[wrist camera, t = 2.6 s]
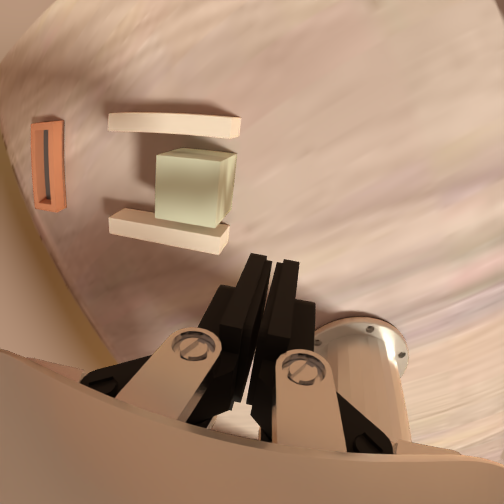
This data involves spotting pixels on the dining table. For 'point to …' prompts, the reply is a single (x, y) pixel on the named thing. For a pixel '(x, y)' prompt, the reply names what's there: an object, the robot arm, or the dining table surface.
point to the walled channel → (145, 222)
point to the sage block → (194, 186)
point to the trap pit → (48, 165)
